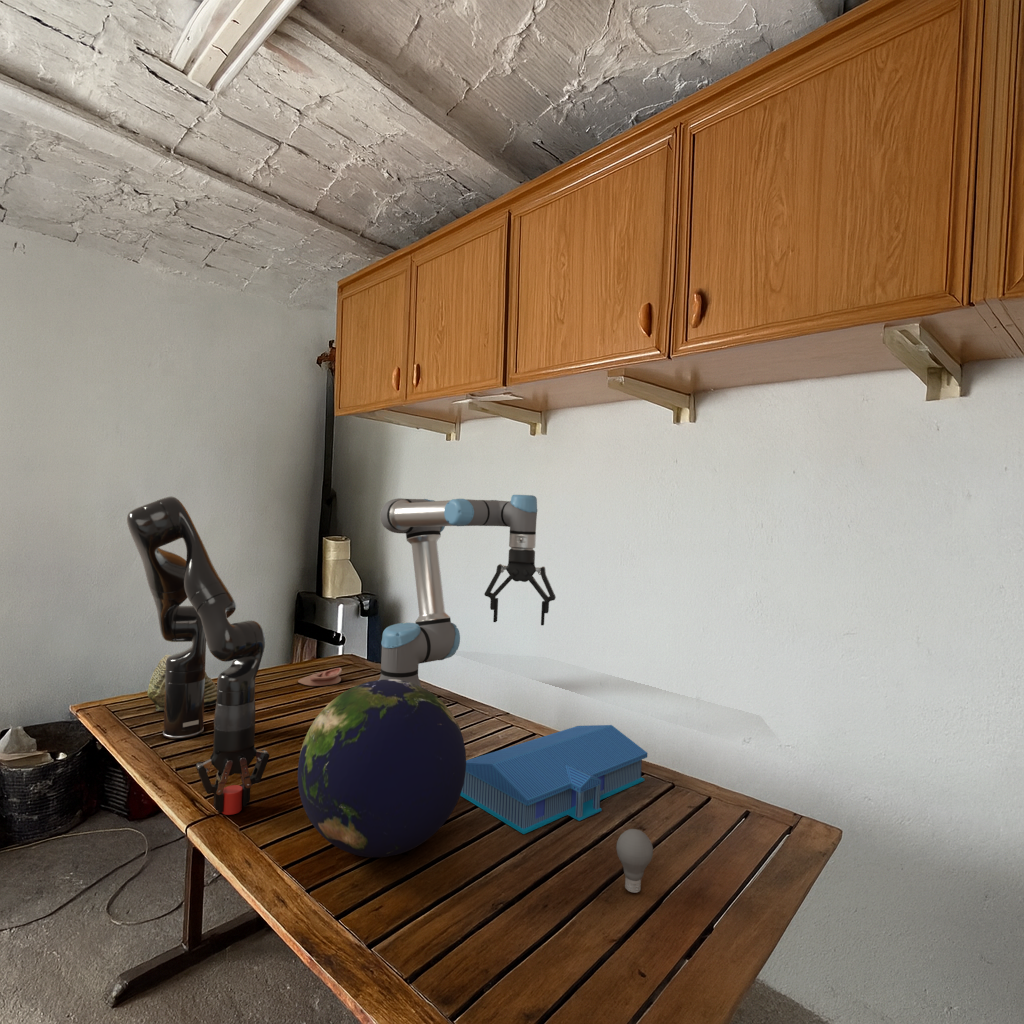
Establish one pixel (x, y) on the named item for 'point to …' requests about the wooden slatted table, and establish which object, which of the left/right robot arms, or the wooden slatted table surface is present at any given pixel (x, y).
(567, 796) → the model building
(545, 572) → the right robot arm
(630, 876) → the light bulb
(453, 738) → the globe
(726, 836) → the wooden slatted table surface
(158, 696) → the fossil
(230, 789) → the canister
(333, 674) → the anatomical model
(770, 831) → the wooden slatted table surface
